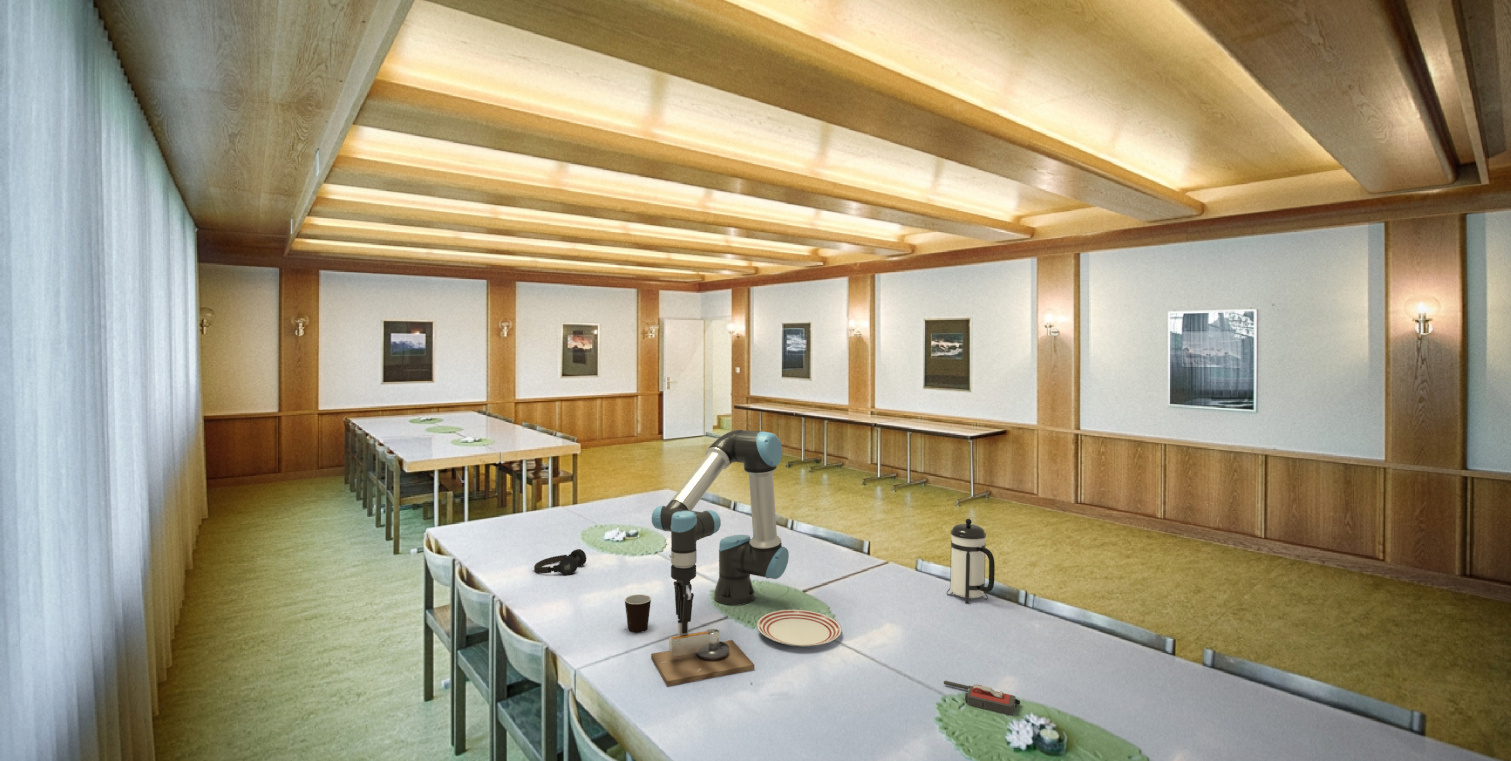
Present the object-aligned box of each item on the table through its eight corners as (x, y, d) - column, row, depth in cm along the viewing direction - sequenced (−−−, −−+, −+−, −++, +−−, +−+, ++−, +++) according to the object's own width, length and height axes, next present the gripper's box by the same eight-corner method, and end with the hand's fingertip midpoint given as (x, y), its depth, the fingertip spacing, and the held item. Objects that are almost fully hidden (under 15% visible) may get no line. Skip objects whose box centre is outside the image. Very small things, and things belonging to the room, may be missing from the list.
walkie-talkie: (1021, 703, 175) (944, 685, 184) (1021, 686, 175) (944, 669, 184) (1017, 719, 167) (937, 699, 176) (1017, 702, 167) (937, 683, 176)
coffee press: (944, 601, 246) (945, 522, 244) (948, 587, 260) (950, 512, 259) (993, 608, 239) (995, 527, 238) (995, 594, 254) (997, 517, 253)
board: (732, 644, 208) (732, 639, 208) (754, 669, 191) (754, 664, 191) (651, 658, 198) (651, 653, 198) (667, 686, 181) (667, 680, 181)
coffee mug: (645, 635, 214) (645, 605, 214) (620, 632, 216) (620, 602, 215) (657, 621, 225) (657, 592, 225) (634, 619, 227) (634, 590, 227)
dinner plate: (848, 625, 224) (848, 615, 224) (831, 659, 198) (831, 649, 198) (771, 613, 233) (771, 604, 233) (745, 645, 207) (745, 635, 207)
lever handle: (722, 643, 204) (722, 622, 204) (734, 657, 195) (734, 635, 195) (665, 653, 197) (666, 631, 197) (675, 667, 188) (675, 645, 188)
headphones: (572, 558, 269) (526, 563, 272) (574, 576, 269) (529, 581, 272) (587, 546, 286) (544, 551, 289) (590, 563, 286) (547, 568, 289)
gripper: (665, 559, 201) (665, 635, 202) (677, 572, 189) (677, 653, 190) (689, 556, 204) (688, 631, 205) (702, 569, 192) (701, 648, 193)
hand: (683, 641), depth 198 cm, fingers closed
